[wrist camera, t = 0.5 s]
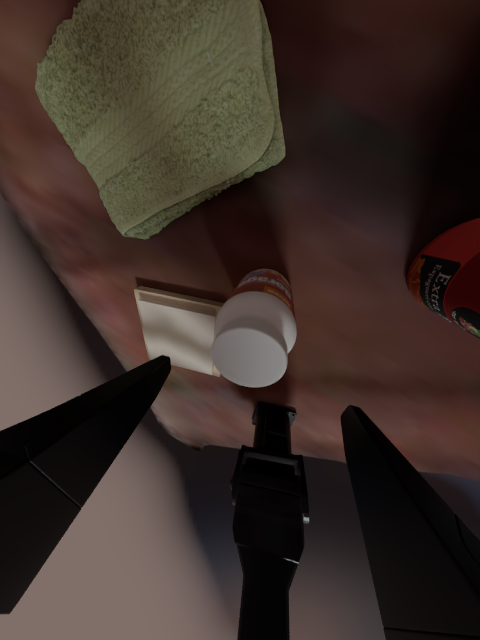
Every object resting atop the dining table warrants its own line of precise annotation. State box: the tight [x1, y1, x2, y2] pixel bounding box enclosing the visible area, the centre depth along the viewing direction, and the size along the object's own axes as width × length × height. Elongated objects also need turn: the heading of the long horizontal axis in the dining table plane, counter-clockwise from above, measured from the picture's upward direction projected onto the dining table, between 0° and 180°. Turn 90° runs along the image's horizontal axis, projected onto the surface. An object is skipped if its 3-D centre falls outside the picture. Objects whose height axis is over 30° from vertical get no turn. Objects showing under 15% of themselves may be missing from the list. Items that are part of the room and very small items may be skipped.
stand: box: [134, 286, 224, 377], centre depth 24 cm, size 12×12×2 cm
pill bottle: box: [211, 269, 297, 387], centre depth 15 cm, size 6×6×11 cm
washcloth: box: [35, 0, 285, 239], centre depth 13 cm, size 13×18×3 cm
